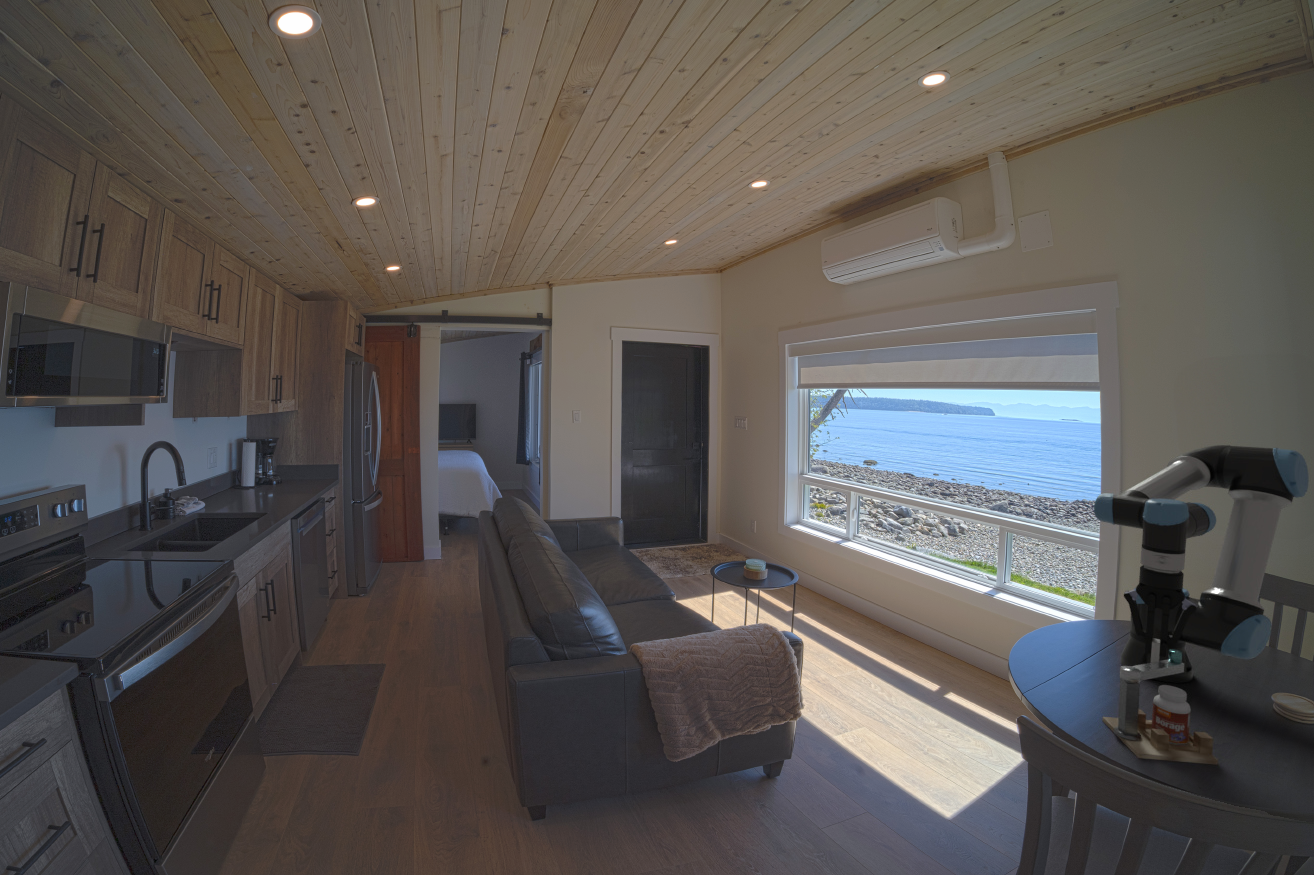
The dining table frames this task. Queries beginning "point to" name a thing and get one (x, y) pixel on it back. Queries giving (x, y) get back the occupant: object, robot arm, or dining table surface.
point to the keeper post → (1128, 711)
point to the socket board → (1159, 755)
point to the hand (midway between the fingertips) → (1154, 667)
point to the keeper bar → (1153, 668)
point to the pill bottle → (1172, 714)
